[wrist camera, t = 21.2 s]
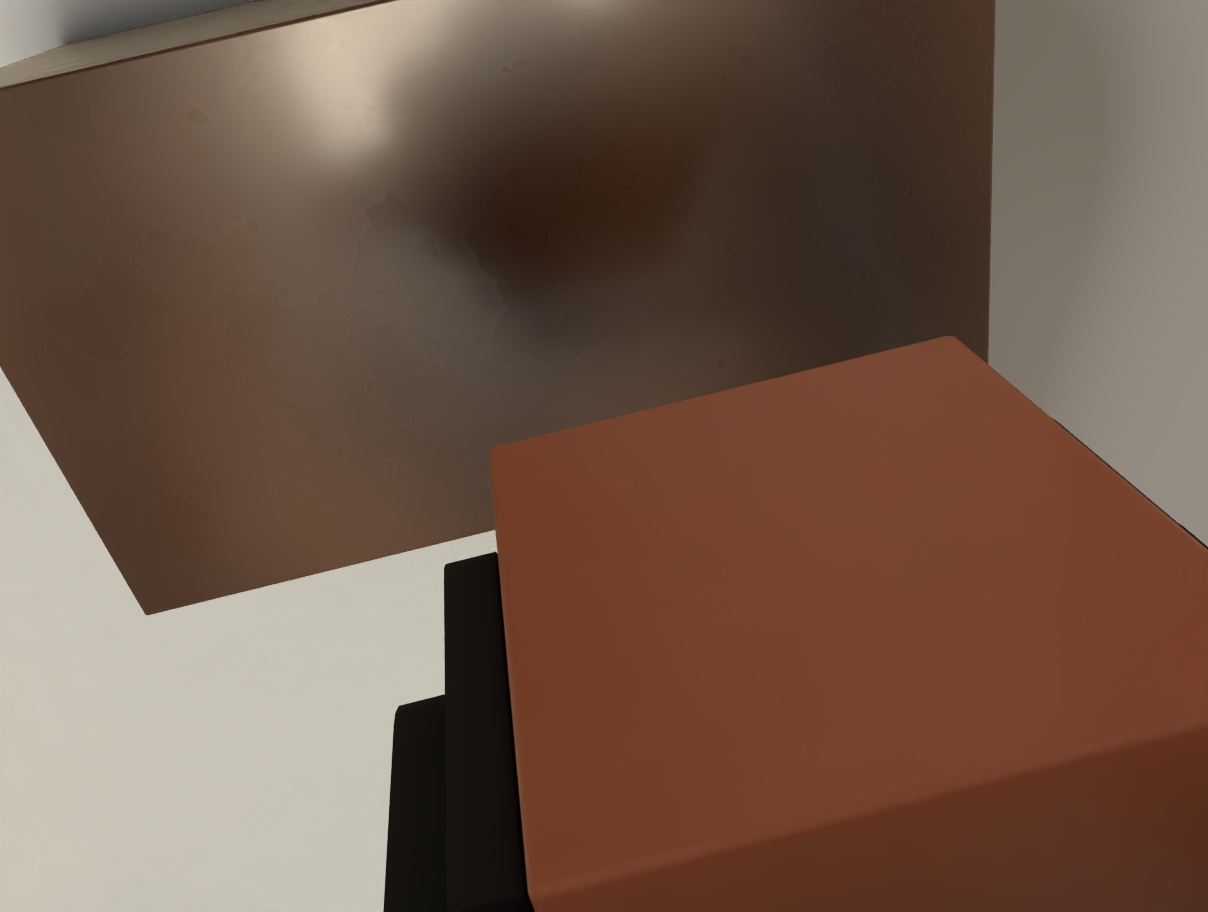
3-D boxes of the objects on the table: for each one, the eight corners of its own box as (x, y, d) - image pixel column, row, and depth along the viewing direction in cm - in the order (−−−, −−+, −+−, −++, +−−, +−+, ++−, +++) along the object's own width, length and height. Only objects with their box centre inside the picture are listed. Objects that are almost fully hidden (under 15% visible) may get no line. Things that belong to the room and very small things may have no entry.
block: (953, 331, 10) (1371, 678, 5) (953, 673, 12) (1237, 1099, 8) (486, 444, 9) (525, 898, 5) (583, 768, 12) (665, 1253, 8)
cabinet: (809, -127, 23) (999, -144, 15) (836, 269, 28) (988, 409, 20) (60, 45, 22) (-145, 121, 14) (229, 415, 27) (145, 616, 20)
